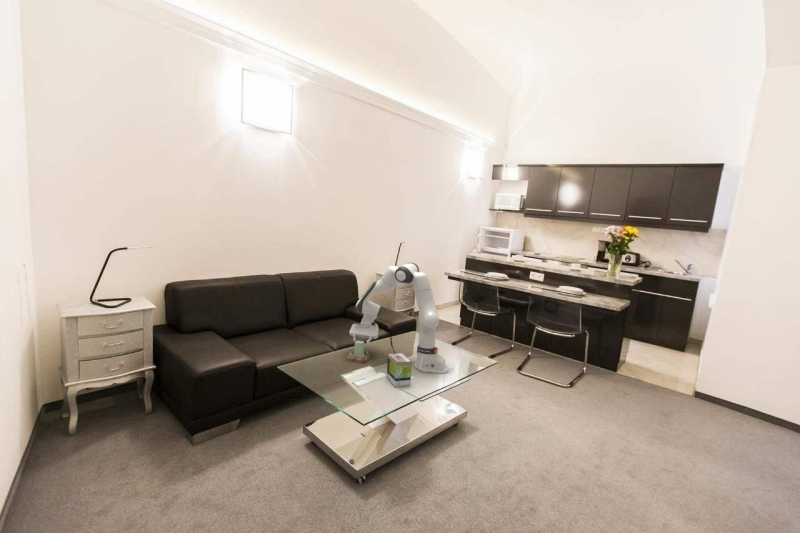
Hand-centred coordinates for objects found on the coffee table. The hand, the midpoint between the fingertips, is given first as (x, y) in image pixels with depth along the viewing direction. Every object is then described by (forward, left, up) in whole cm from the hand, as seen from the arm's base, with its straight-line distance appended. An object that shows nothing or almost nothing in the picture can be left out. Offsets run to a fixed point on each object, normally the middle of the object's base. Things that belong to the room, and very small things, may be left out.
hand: (360, 342), depth 248 cm
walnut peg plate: (0, +2, -11) cm, 12 cm away
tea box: (-35, +26, -12) cm, 45 cm away
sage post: (0, +2, -9) cm, 9 cm away
